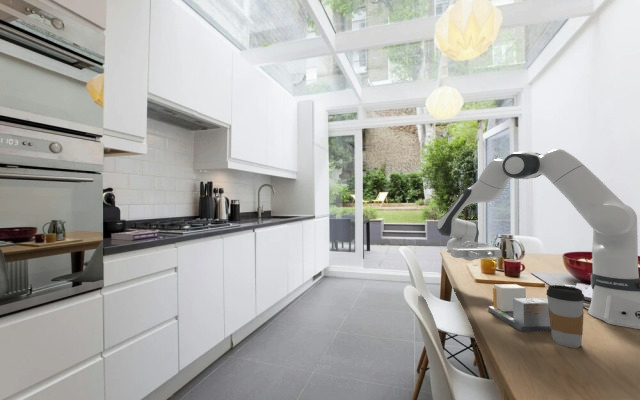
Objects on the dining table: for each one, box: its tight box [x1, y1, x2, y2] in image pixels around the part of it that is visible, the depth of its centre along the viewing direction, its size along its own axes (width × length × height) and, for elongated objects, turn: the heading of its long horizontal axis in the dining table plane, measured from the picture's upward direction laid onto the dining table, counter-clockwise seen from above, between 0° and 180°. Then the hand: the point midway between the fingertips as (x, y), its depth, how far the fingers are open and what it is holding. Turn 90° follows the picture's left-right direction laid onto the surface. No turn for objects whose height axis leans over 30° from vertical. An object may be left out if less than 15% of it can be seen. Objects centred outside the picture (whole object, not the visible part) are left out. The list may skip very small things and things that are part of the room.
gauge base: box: [487, 297, 551, 333], centre depth 100 cm, size 18×12×8 cm, turn 179°
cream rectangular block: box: [492, 283, 527, 311], centre depth 106 cm, size 6×10×8 cm, turn 89°
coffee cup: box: [545, 284, 586, 348], centre depth 83 cm, size 8×8×15 cm
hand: (484, 255), depth 122 cm, fingers open, 4 cm apart
